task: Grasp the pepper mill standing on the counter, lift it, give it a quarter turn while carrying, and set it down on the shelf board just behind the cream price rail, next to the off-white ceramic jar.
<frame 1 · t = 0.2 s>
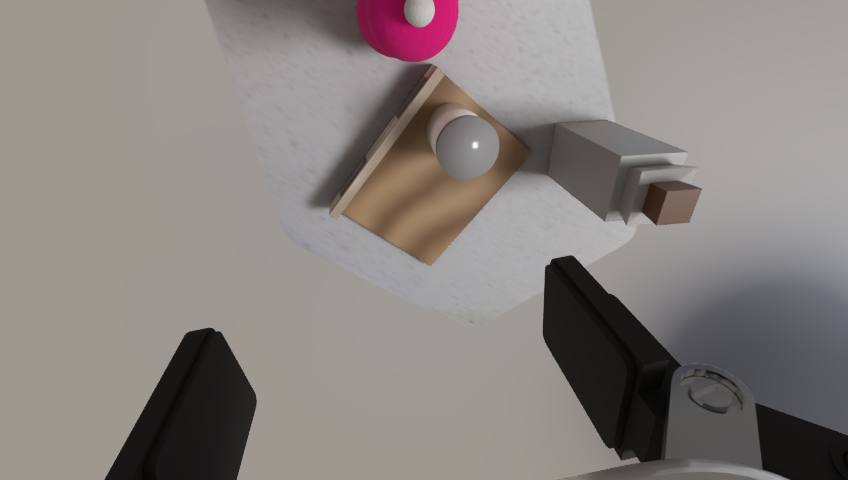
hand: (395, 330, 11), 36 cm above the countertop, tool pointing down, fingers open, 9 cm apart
shelf: (430, 176, 47), on the countertop
perfume bottle: (575, 147, 49), on the countertop
jar: (451, 129, 44), point 1 cm above the countertop, touching shelf
pepper mill: (392, 14, 38), on the countertop
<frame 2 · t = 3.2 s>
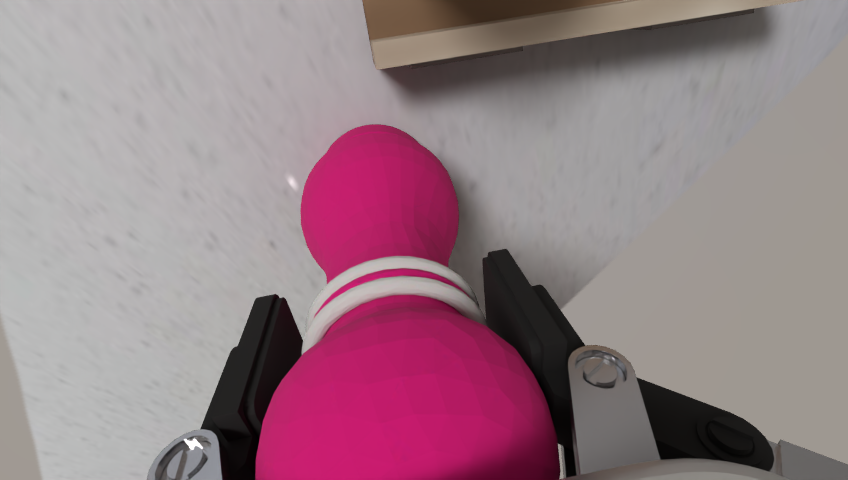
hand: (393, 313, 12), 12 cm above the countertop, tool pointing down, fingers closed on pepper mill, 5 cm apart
pepper mill: (377, 178, 22), on the countertop, touching gripper
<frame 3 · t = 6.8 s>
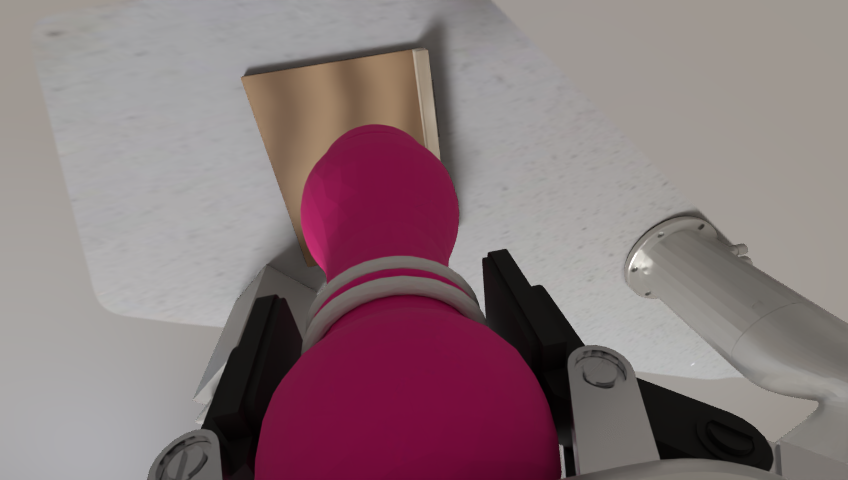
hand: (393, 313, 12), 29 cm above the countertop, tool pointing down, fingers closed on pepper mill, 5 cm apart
shelf: (358, 167, 39), on the countertop
perfume bottle: (276, 296, 46), on the countertop
pepper mill: (377, 178, 22), point 17 cm above the countertop, touching gripper
when the fingers open (13 cm above the countertop, at t = 10.5 s): pepper mill stays where it is, resting on shelf.
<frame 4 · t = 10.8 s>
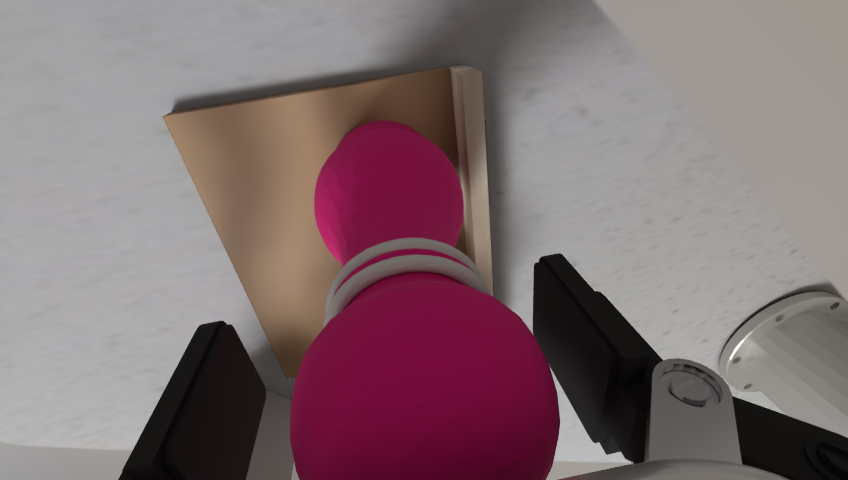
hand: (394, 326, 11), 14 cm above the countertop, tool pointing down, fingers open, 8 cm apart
shelf: (360, 243, 26), on the countertop
perfume bottle: (244, 410, 32), on the countertop
pepper mill: (384, 172, 23), point 1 cm above the countertop, touching shelf
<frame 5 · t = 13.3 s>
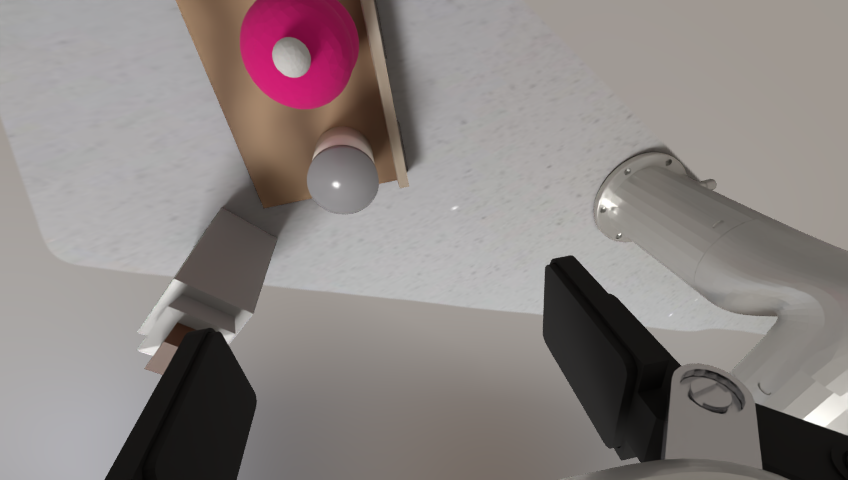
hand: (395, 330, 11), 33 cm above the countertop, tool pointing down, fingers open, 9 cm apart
shelf: (308, 98, 38), on the countertop
perfume bottle: (235, 243, 44), on the countertop
jar: (344, 155, 40), point 1 cm above the countertop, touching shelf
pepper mill: (318, 39, 35), point 1 cm above the countertop, touching shelf
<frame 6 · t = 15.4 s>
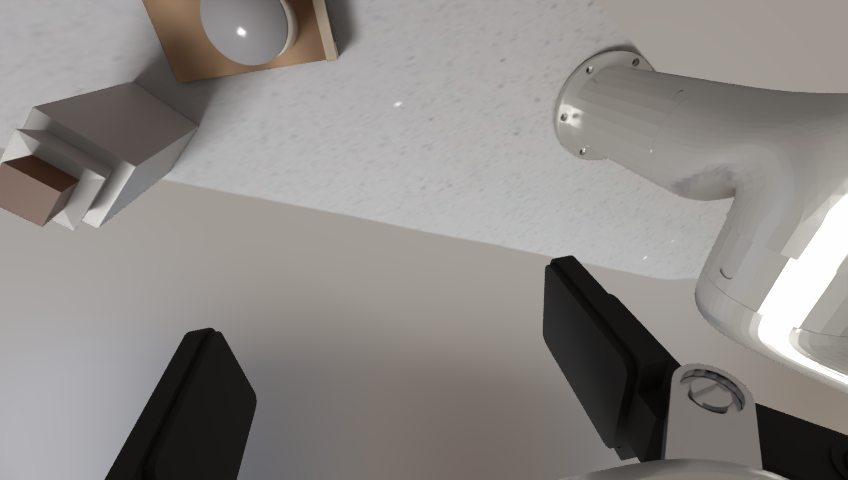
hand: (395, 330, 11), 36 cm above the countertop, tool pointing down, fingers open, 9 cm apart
perfume bottle: (152, 129, 40), on the countertop
jar: (265, 21, 36), point 1 cm above the countertop, touching shelf
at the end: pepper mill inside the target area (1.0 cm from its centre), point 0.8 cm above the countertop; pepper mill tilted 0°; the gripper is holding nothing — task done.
